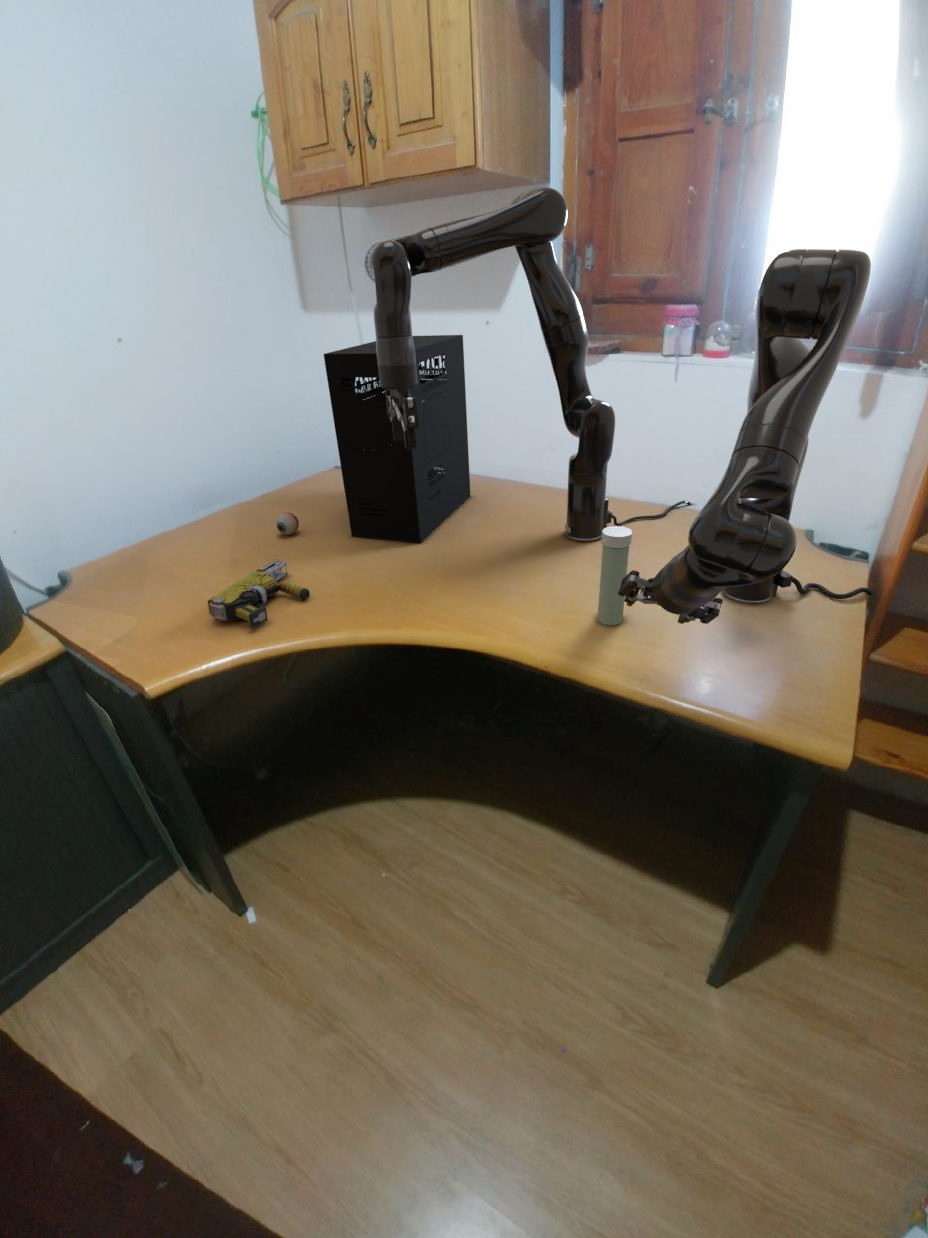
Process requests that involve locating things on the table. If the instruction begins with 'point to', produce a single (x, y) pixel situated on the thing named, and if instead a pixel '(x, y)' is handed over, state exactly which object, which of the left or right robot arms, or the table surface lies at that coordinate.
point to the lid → (616, 537)
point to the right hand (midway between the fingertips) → (655, 608)
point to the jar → (612, 585)
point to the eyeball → (287, 523)
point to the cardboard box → (383, 468)
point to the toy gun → (253, 595)
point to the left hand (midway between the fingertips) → (404, 444)
